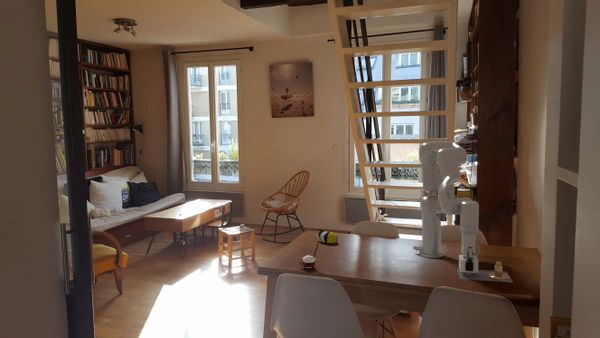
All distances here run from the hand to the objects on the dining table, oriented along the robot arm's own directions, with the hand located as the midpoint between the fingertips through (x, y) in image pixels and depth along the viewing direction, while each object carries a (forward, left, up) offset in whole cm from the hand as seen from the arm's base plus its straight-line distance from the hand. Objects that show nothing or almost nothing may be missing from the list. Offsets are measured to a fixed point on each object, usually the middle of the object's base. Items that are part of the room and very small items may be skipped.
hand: (468, 267), depth 188 cm
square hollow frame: (0, 0, -1) cm, 1 cm away
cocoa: (-73, -2, -5) cm, 73 cm away
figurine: (-75, +48, -5) cm, 89 cm away
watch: (+3, +19, -5) cm, 20 cm away
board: (+6, -1, -4) cm, 8 cm away
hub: (+12, -1, -3) cm, 13 cm away
